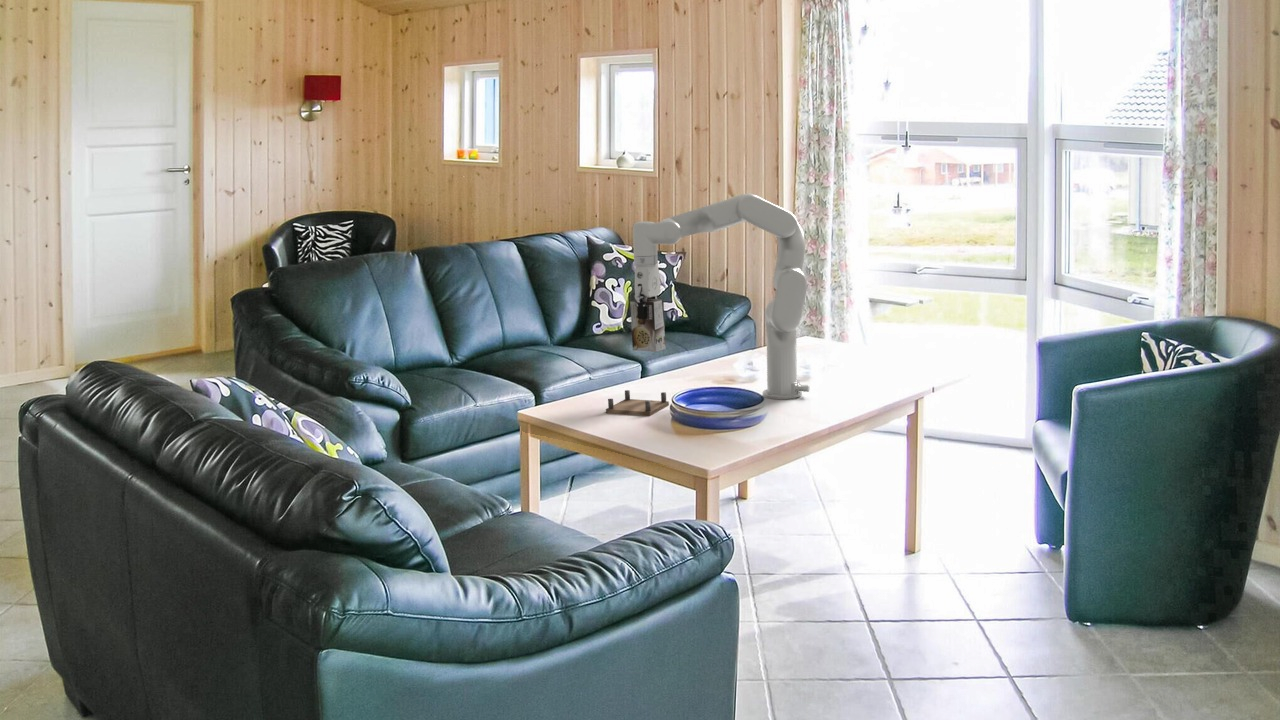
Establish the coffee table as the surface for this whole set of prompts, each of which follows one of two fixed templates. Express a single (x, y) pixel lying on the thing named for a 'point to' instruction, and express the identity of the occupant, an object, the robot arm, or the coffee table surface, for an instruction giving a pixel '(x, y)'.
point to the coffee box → (648, 326)
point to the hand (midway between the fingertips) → (647, 316)
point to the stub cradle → (637, 405)
